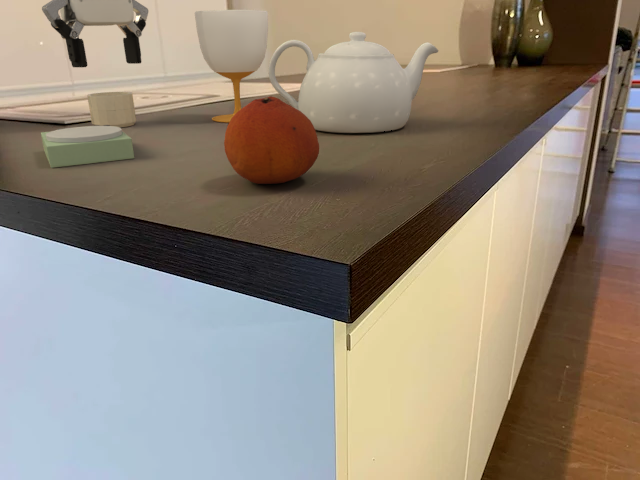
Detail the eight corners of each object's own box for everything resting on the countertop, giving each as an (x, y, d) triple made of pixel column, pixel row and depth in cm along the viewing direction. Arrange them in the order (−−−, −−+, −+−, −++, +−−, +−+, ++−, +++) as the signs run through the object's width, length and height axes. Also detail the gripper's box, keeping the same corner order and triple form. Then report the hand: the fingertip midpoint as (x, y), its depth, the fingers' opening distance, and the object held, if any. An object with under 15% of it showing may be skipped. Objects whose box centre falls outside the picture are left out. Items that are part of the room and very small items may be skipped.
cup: (286, 117, 93) (282, 10, 87) (234, 126, 85) (226, 9, 79) (242, 112, 100) (235, 13, 94) (190, 120, 92) (179, 12, 86)
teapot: (347, 114, 95) (347, 32, 91) (436, 124, 83) (442, 30, 79) (267, 127, 83) (262, 33, 78) (358, 141, 71) (359, 31, 66)
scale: (44, 151, 68) (39, 127, 67) (117, 143, 73) (114, 121, 71) (50, 168, 59) (45, 141, 58) (134, 158, 64) (130, 132, 62)
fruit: (245, 199, 47) (238, 105, 44) (218, 177, 54) (211, 95, 51) (335, 186, 50) (335, 98, 47) (298, 167, 58) (296, 90, 55)
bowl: (84, 128, 85) (79, 96, 84) (105, 122, 92) (100, 91, 90) (125, 128, 85) (120, 96, 83) (143, 122, 91) (139, 91, 89)
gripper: (123, -49, 87) (139, 62, 93) (15, -61, 74) (42, 68, 80) (152, -55, 83) (167, 62, 89) (44, -69, 70) (70, 69, 76)
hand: (108, 65), depth 85 cm, fingers open, 9 cm apart
